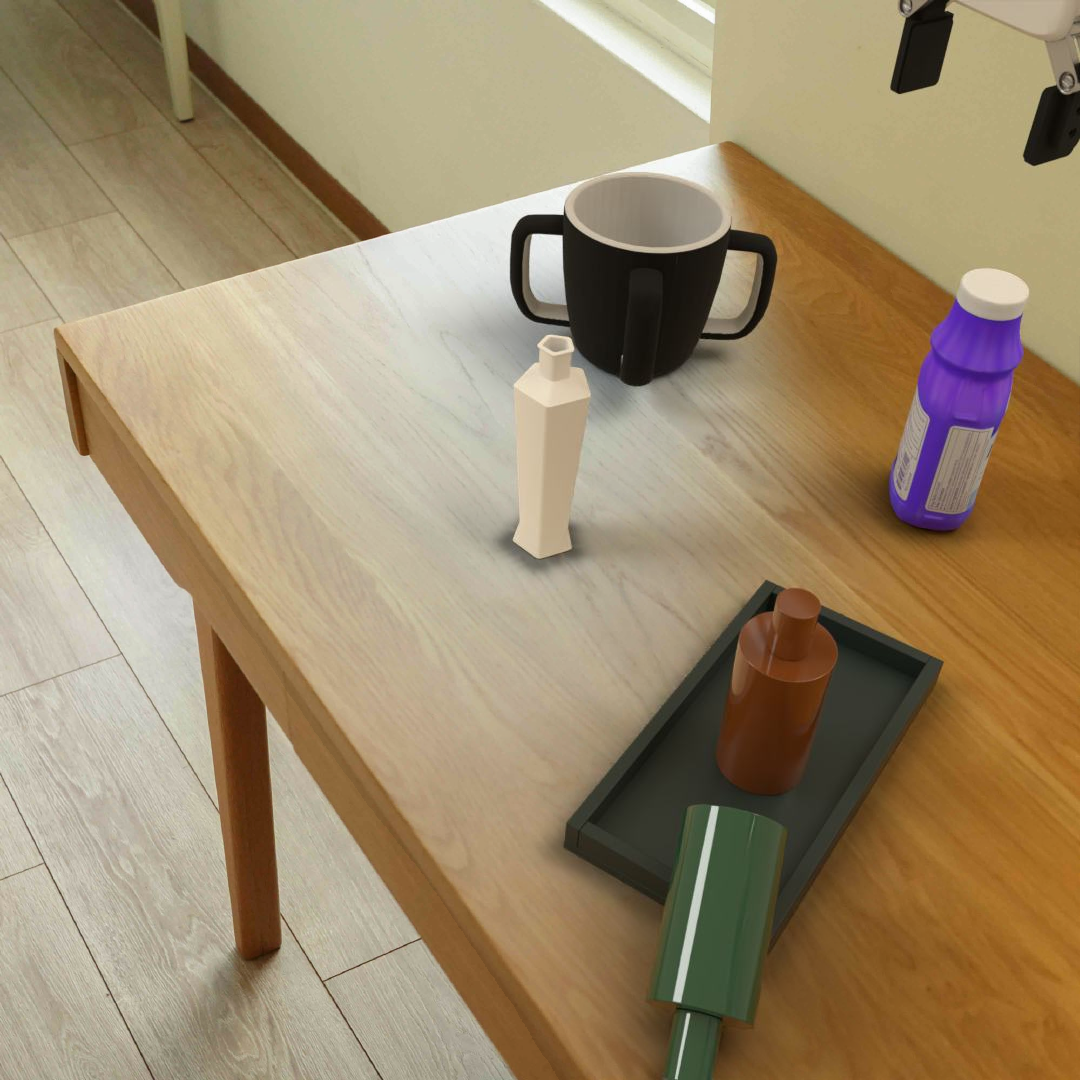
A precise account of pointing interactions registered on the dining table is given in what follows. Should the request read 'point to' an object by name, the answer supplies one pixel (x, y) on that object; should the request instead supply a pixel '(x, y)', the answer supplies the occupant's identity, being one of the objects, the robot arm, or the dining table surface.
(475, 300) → the dining table surface
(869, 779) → the tray
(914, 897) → the dining table surface
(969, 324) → the bottle
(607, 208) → the mug
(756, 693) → the middle bottle
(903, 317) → the dining table surface
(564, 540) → the perfume bottle
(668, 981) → the green bottle
